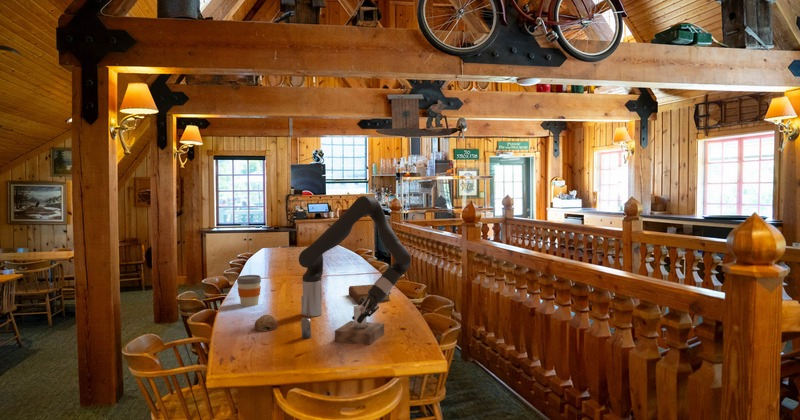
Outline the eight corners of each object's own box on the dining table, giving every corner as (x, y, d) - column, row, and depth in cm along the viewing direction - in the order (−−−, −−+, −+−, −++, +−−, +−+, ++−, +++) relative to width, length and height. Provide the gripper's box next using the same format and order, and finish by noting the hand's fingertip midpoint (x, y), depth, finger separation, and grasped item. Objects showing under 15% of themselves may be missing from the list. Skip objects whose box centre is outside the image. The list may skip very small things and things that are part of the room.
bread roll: (256, 339, 232) (257, 325, 228) (251, 324, 240) (253, 311, 236) (278, 336, 237) (280, 322, 233) (273, 321, 244) (274, 308, 241)
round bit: (300, 338, 221) (299, 320, 221) (304, 335, 225) (303, 317, 224) (308, 338, 220) (308, 320, 220) (312, 335, 224) (311, 317, 223)
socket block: (334, 341, 217) (334, 330, 217) (350, 330, 232) (350, 320, 232) (370, 345, 212) (370, 334, 211) (384, 333, 227) (384, 323, 226)
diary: (348, 295, 303) (348, 286, 303) (379, 293, 309) (379, 284, 309) (357, 304, 281) (357, 294, 281) (390, 302, 287) (390, 291, 287)
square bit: (354, 329, 222) (353, 306, 222) (362, 327, 224) (362, 304, 224) (358, 331, 219) (357, 308, 218) (366, 330, 221) (366, 306, 220)
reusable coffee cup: (257, 307, 275) (257, 279, 274) (234, 307, 276) (233, 279, 275) (264, 301, 288) (263, 274, 287) (241, 301, 288) (241, 274, 287)
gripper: (367, 281, 230) (343, 312, 225) (383, 287, 218) (357, 319, 213) (378, 291, 233) (354, 322, 228) (394, 297, 221) (369, 330, 216)
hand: (356, 320), depth 220 cm, fingers closed on square bit, 4 cm apart
